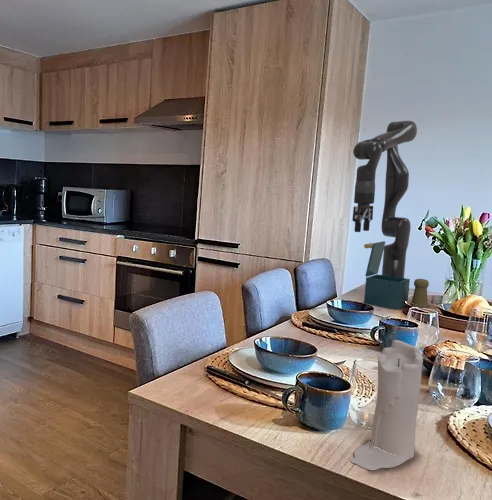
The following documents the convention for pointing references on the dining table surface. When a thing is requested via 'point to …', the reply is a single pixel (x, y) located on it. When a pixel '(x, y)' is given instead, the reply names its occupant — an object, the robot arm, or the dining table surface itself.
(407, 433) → the candle
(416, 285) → the cork
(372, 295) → the bin
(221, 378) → the dining table surface
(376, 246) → the bin lid
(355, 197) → the robot arm
